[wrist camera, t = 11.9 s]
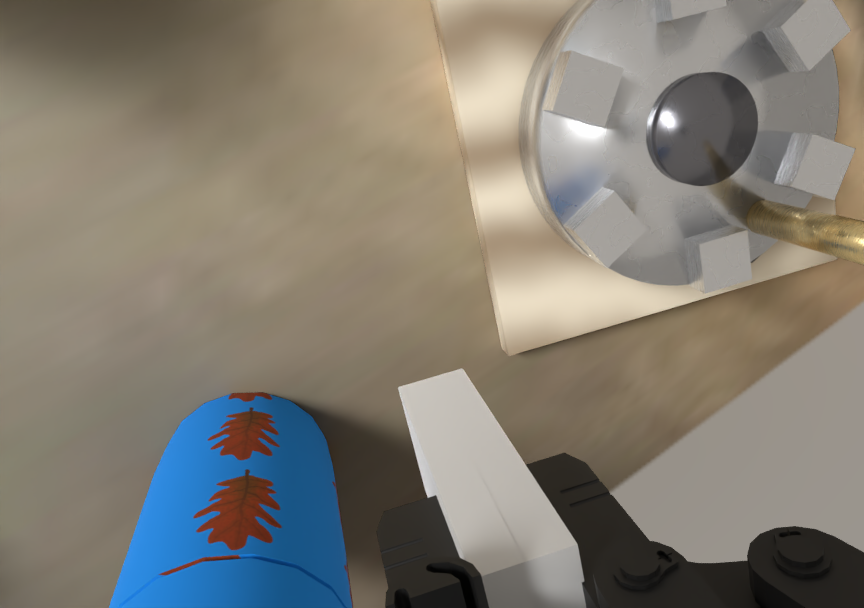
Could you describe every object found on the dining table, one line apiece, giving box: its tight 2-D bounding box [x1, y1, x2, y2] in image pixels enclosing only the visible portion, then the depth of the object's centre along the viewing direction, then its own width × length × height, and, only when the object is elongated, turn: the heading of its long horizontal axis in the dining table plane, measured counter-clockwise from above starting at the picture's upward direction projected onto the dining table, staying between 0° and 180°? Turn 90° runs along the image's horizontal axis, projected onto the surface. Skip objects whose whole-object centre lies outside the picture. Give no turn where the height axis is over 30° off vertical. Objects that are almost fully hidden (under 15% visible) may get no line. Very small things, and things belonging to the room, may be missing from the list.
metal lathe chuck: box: [519, 0, 864, 294], centre depth 37 cm, size 18×18×14 cm
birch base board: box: [430, 0, 837, 356], centre depth 44 cm, size 24×24×2 cm
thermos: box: [109, 392, 353, 608], centre depth 34 cm, size 11×11×25 cm
